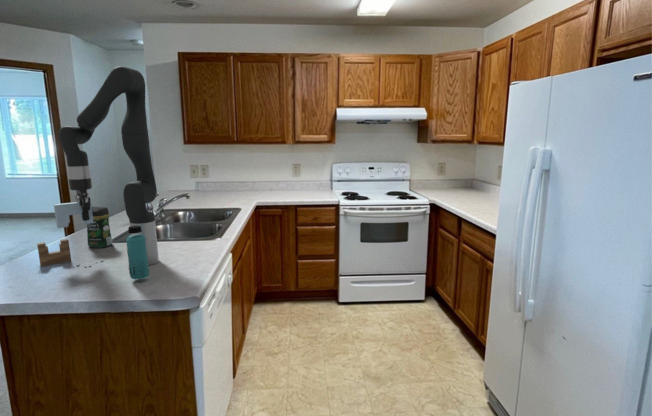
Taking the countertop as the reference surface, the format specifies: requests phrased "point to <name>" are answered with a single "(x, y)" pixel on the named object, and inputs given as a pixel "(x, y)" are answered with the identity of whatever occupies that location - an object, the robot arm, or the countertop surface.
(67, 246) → the notched wooden block
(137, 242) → the beverage bottle
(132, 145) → the robot arm
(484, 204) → the countertop surface
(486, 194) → the countertop surface
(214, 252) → the countertop surface
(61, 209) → the pale grey upright slab
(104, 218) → the coffee jar
